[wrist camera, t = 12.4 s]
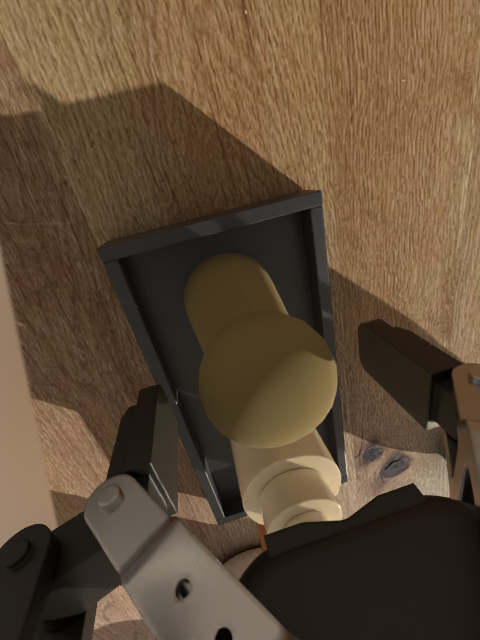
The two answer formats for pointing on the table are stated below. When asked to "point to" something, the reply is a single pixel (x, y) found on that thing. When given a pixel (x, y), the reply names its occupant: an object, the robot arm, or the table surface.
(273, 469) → the cream bottle
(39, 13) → the table surface
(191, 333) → the tray
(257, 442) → the pepper shaker
